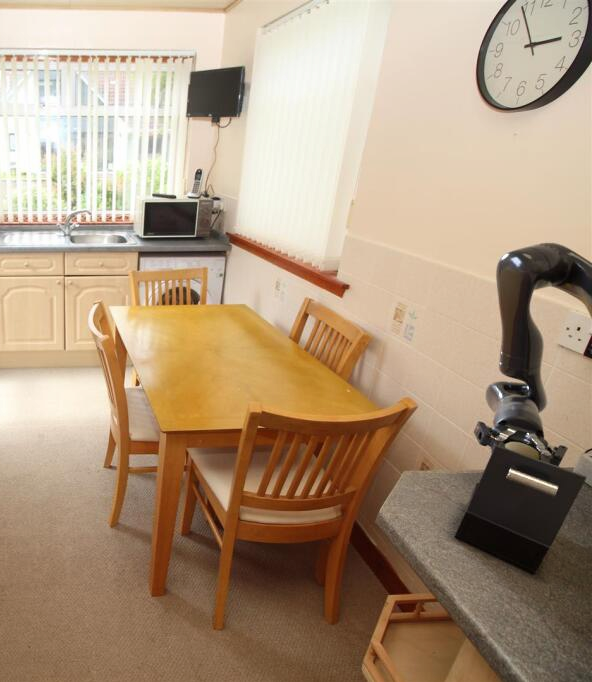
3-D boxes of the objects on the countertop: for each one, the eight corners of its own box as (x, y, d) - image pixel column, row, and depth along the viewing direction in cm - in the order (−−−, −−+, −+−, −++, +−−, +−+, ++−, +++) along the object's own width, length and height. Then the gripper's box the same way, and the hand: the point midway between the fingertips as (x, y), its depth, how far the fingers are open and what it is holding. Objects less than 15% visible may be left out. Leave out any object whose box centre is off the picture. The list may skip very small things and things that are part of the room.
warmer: (465, 506, 90) (476, 482, 88) (539, 538, 84) (553, 512, 81) (454, 537, 83) (465, 511, 81) (534, 575, 76) (549, 548, 74)
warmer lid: (495, 444, 77) (493, 453, 73) (586, 476, 70) (588, 487, 67) (467, 508, 81) (463, 520, 77) (550, 544, 74) (550, 559, 70)
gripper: (480, 397, 102) (478, 429, 89) (572, 422, 93) (583, 461, 81) (468, 427, 104) (464, 462, 92) (556, 454, 96) (565, 496, 84)
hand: (520, 461), depth 87 cm, fingers closed on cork, 5 cm apart
